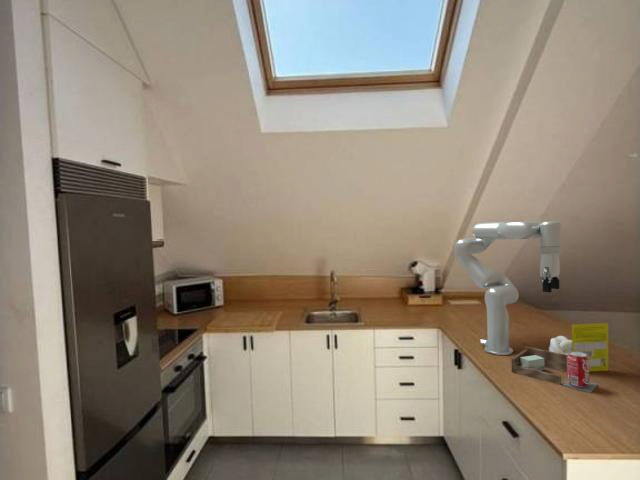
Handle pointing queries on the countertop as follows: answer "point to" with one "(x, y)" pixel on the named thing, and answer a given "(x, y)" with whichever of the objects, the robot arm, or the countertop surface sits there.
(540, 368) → the offcut lower
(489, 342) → the robot arm
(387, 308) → the countertop surface
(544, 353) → the frame
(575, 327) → the food package
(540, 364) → the offcut upper
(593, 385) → the slate mat
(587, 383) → the soda can
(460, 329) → the countertop surface
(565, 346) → the white decorative knot
